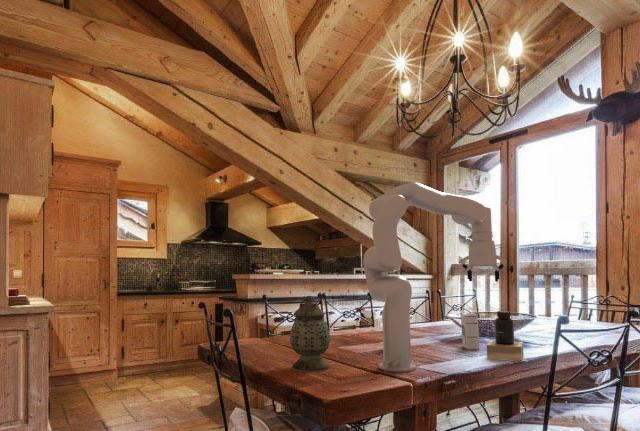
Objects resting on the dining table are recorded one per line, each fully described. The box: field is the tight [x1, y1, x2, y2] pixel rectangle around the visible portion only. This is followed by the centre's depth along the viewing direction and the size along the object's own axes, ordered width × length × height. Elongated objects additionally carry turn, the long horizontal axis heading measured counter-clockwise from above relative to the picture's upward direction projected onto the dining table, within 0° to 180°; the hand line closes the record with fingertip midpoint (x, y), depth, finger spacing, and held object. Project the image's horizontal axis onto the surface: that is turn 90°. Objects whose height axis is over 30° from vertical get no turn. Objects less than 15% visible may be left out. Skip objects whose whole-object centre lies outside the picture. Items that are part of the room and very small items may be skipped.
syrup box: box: [460, 312, 480, 350], centre depth 202 cm, size 6×6×14 cm
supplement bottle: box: [494, 310, 515, 345], centre depth 182 cm, size 7×7×12 cm
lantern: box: [289, 295, 331, 373], centre depth 167 cm, size 14×14×25 cm
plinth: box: [486, 340, 525, 362], centre depth 181 cm, size 12×12×5 cm
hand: (483, 281), depth 185 cm, fingers open, 9 cm apart
